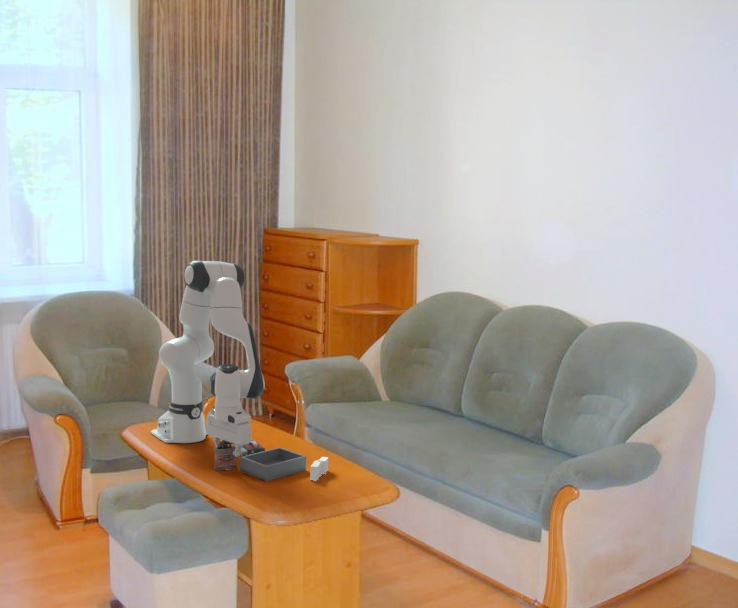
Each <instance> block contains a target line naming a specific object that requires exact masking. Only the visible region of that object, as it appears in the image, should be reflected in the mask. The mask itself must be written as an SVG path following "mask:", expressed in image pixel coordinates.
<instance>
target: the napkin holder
mask: <svg viewBox="0 0 738 608" xmlns="http://www.w3.org/2000/svg"><path fill="white" fill-rule="evenodd" d="M309 469H310V470H309V474H310V475H309V476H310V477H309V481H310V480H313V481H312V482H317V480H318V481H319V479H320V478H321V476H322V475H321V474H325V475H327V473H328V472H329V457H327V456H321V457H320V458H319V459H317V460H314V461H313V462H312V464H311V465H310V467H309ZM327 471H328V472H327ZM326 472H327V473H326ZM319 477H320V478H319Z"/></svg>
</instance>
